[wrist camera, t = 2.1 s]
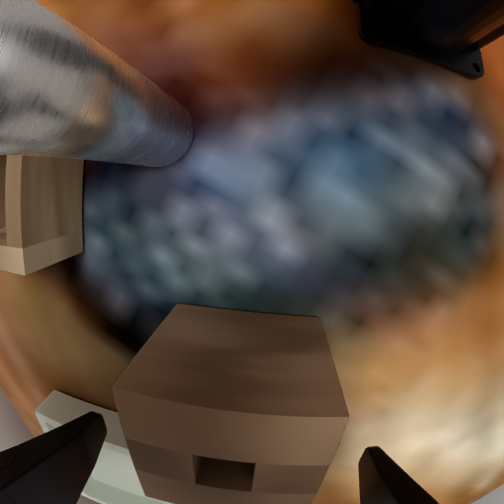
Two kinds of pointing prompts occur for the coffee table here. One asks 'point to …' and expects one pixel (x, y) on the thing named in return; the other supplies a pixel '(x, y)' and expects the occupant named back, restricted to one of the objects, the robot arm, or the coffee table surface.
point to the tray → (111, 455)
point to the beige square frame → (39, 211)
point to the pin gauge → (79, 96)
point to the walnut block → (232, 408)
